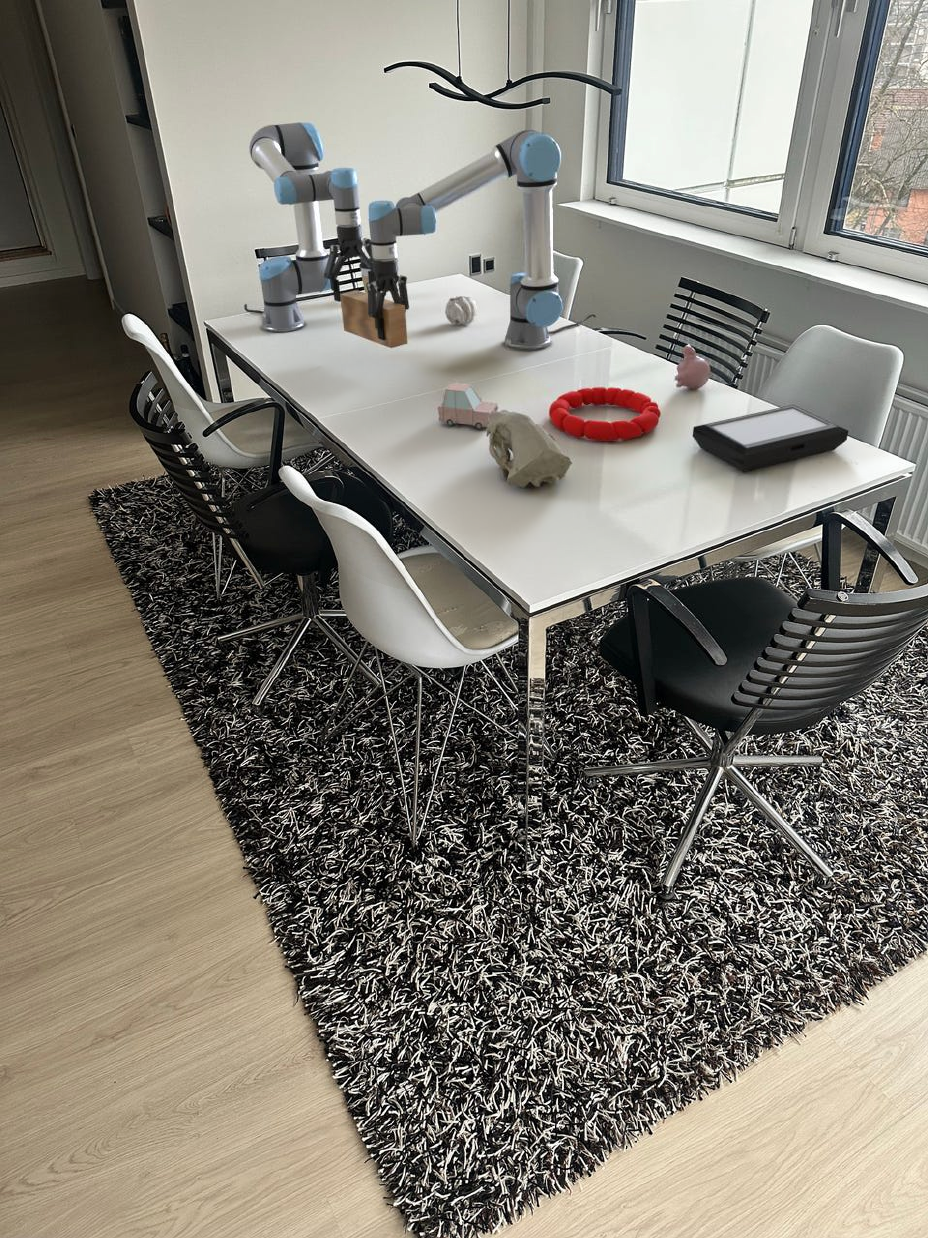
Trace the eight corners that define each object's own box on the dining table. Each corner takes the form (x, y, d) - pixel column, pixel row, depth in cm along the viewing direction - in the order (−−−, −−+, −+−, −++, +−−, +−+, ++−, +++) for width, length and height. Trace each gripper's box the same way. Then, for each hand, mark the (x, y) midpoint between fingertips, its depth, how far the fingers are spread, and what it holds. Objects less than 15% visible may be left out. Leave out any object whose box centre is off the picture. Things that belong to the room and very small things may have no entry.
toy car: (488, 432, 240) (488, 396, 234) (436, 426, 244) (434, 390, 239) (499, 419, 247) (499, 384, 241) (448, 413, 252) (447, 379, 246)
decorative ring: (589, 435, 224) (684, 402, 234) (527, 398, 247) (617, 369, 256) (589, 461, 229) (683, 427, 238) (529, 422, 251) (617, 393, 260)
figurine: (665, 387, 264) (669, 347, 257) (693, 380, 268) (698, 340, 261) (686, 396, 257) (690, 355, 250) (714, 388, 262) (720, 348, 255)
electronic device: (745, 452, 210) (694, 423, 225) (741, 476, 213) (691, 446, 228) (849, 427, 220) (793, 401, 235) (844, 450, 224) (789, 423, 239)
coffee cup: (386, 303, 348) (383, 263, 339) (361, 304, 348) (357, 263, 339) (388, 296, 356) (385, 257, 347) (363, 297, 356) (360, 257, 347)
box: (344, 330, 290) (340, 293, 284) (360, 326, 294) (356, 289, 287) (391, 348, 274) (388, 309, 267) (407, 343, 277) (405, 305, 271)
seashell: (437, 324, 323) (436, 295, 317) (473, 317, 329) (473, 289, 323) (451, 331, 315) (450, 302, 310) (487, 324, 321) (487, 295, 316)
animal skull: (496, 517, 219) (521, 479, 201) (463, 429, 225) (484, 384, 207) (557, 503, 225) (586, 465, 206) (523, 417, 231) (549, 373, 212)
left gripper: (320, 232, 262) (328, 306, 274) (388, 220, 275) (394, 291, 287) (307, 229, 267) (315, 302, 279) (374, 217, 280) (380, 287, 292)
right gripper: (365, 266, 257) (372, 346, 270) (418, 254, 267) (422, 332, 280) (350, 262, 261) (358, 340, 274) (403, 250, 271) (408, 327, 284)
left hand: (355, 296), depth 283 cm, fingers open, 13 cm apart
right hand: (390, 336), depth 277 cm, fingers closed on box, 6 cm apart
